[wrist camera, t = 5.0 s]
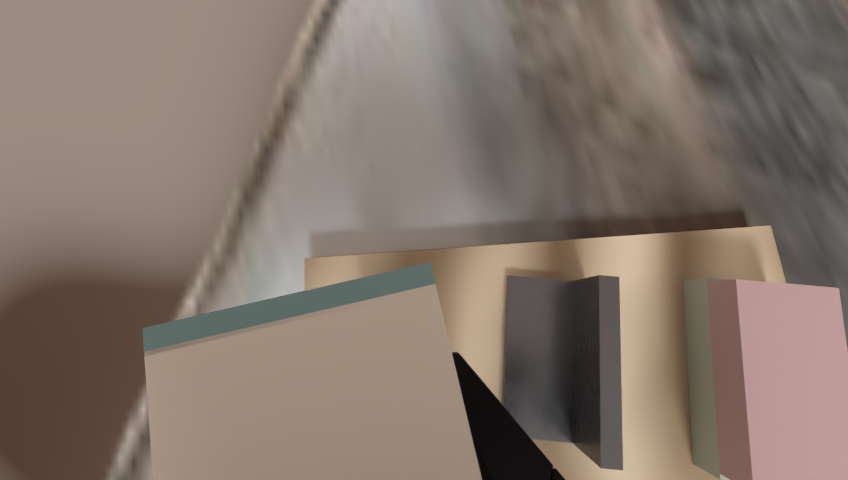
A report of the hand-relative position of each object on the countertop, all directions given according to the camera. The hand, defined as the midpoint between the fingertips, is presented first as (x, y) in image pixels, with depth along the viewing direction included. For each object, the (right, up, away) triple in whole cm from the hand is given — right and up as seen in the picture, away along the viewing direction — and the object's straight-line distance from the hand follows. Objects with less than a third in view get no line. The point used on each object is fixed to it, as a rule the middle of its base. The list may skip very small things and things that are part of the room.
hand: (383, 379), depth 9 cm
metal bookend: (+7, -2, +8) cm, 10 cm away
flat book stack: (+15, -3, +7) cm, 17 cm away
